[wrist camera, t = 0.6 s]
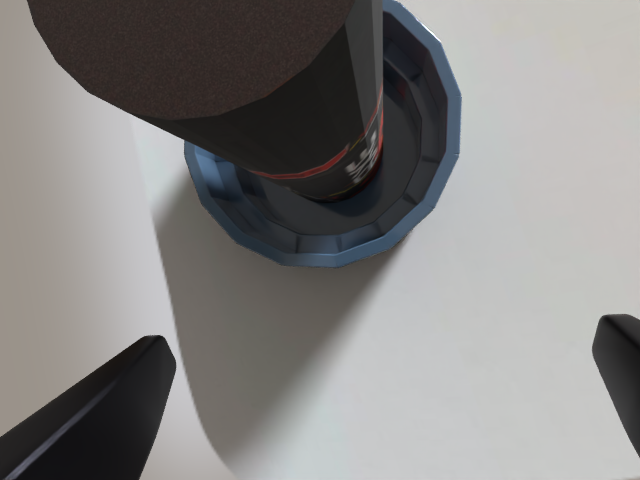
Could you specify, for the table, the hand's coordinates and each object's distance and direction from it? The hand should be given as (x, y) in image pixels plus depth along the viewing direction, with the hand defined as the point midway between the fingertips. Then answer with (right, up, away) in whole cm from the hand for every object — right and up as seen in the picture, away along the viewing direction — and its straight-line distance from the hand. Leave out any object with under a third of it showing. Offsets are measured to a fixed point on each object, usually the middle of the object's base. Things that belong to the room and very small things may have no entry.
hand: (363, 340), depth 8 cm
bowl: (0, +7, +13) cm, 15 cm away
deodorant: (0, +7, +13) cm, 15 cm away
